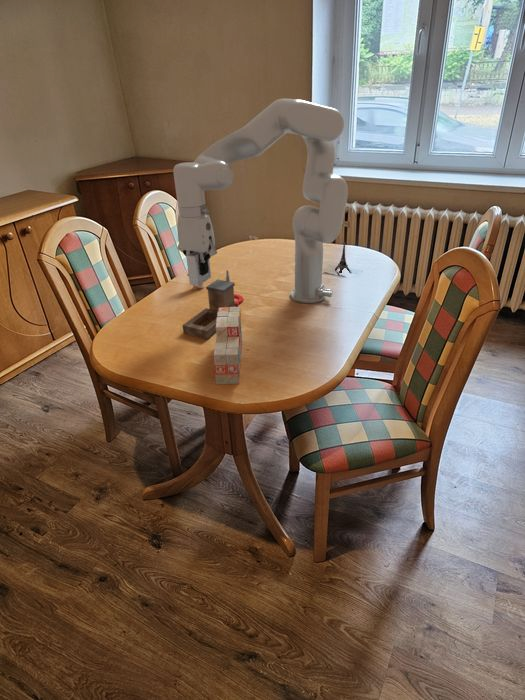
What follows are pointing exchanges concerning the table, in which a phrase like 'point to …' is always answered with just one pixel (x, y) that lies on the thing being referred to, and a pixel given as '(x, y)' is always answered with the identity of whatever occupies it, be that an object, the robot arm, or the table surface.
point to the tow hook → (234, 294)
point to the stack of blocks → (228, 345)
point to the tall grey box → (196, 269)
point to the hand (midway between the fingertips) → (199, 272)
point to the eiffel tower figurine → (342, 262)
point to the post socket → (211, 309)
